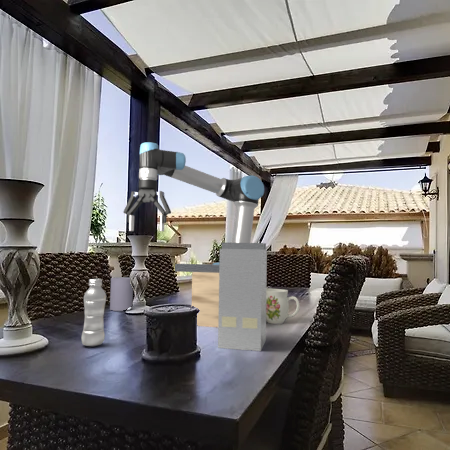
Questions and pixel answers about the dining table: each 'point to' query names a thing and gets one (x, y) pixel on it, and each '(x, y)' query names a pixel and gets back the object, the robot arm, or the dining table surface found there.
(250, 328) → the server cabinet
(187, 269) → the bar
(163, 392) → the dining table surface
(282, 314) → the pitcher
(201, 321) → the oak side stand
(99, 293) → the plastic bottle
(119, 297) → the container
